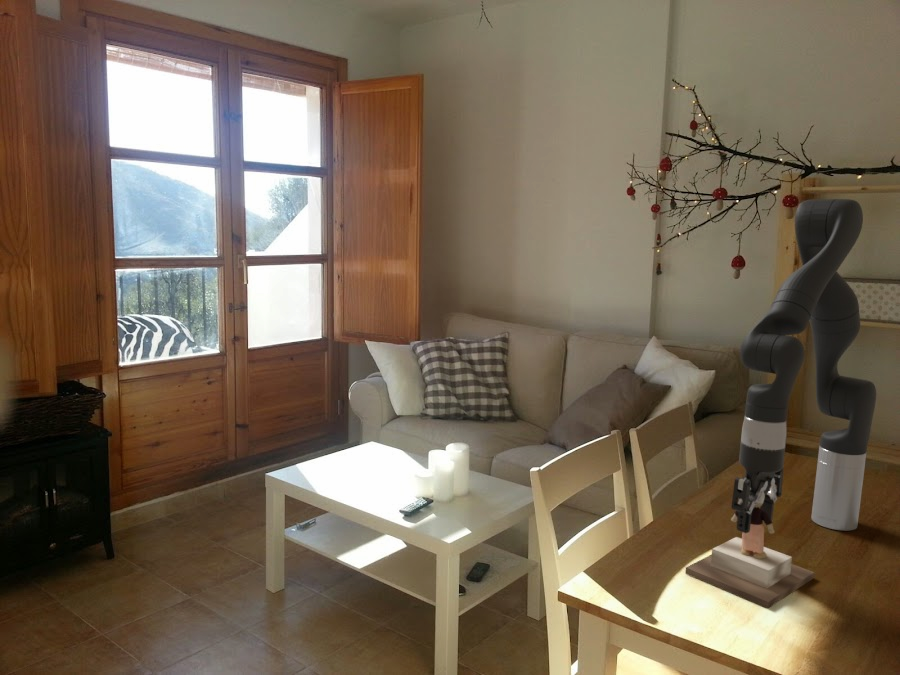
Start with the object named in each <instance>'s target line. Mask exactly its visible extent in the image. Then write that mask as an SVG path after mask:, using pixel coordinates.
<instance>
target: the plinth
mask: <svg viewBox="0 0 900 675" xmlns="http://www.w3.org/2000/svg"><path fill="white" fill-rule="evenodd" d="M741 550H742V537H738V536H735V537H733V538H731V539H730V540H727V541H725V542H723V543H722V544H719V545H717V546H715V547H713V548H712V549H711V554H710V555H708V556H706V557H704V558H702V559H700V560H698V561H696V562H693V563H691V564H690V565H687V566H686V567H685V572H684V573H685V575H688V576H691V577H694V578H695V579H698V580H700V581H703V582H705V583H707V584H710V585H712V586H714V587H716V588H719V589H721V590H723V591H726V592H729V593H731V594H733V595H735V596H738V597H740V598H742V599H744V600H747V601H750V602H751V603H754V604H756V605H758V606H762V607H763V608H766V609H769V608H771V607H772V606H774V605H775V604H776V603H779V602H780V601H781V600H783V599H785V598H786V597H788V596H789V595H791V594H792V593H793V592H795V591H797V590H798V589H799V588H801V587H802V586H804V585H806V584H808V583H809V582H810V581H812V580H813V579H815V572H814V571H812V570H809V569H807V568H804V567H801V566H798V565H796V564H794V563H792V560H793V557H792V556H791V555H788V554H785V553H783V552H779V551H777V550H773V549H771V548H769V547H766V546H764V550H763V551H764V552H765V553H766V555H767V557H765V558H762V559H757V558H755V557H753V555H754V554H755V553H756V552H755V551H753V553H752V554H751V555H743V554H741Z"/></svg>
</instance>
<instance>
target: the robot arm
mask: <svg viewBox="0 0 900 675" xmlns="http://www.w3.org/2000/svg"><path fill="white" fill-rule="evenodd" d="M863 222H864V213H863V208H862V206H861V205H860V203H859V201H856V200H854V199H849V198H818V199H816V198H815V199H807V200H804V201H802V202H800V203H799V204H798V206H797V208H796V211H795V214H794V232H795V239H796V242H797V243H796V244H797V248H798V253H799V256H800V261H801V264H802V265H801V266H800V267H799V268H798V269H796V270H795V271H794V272H792V273H791V274H790V275H789V276H787V278H785V280H784V281H783V282H782V284H781V285H780V287H779V288H778V290H777V292H776V295H775V297H774V300H773V301H772V304H771V305H770V308H769V309H768V310H767V312H766V313H765V314H764V315H763V316H762V318H760V319H759V321H758V322H757V323H756V324H755V325H754V326H753V328H751V330H750V331H749V332H748V333H747V334H746V336H745V337H744V339H743V341H742V343H741V346H740V349H739V350H740V351H739V358H740V361H741V364H742V365H743V366H744V367H745V368H746V369H749V370H751V371H756V372H757V371H758V372H764V373H768V374H773V375H774V374H775V378H774V380H773V381H772V383H756V384H752V385H751V386H749V388H748V389H747V392H746V400H745V401H746V402H745V410H744V411H745V412H744V418H743V423H742V428H741V435H740V436H741V437H740V445H739V446H740V448H739V456H738V457H739V458H738V462H739V465H741V467H743V468H744V469H745V472H744V476H743V478H741V477H738V476H737V477H735V479H734V482H733V483H734V484H733V491H732V501H731V507H730V508H731V509H732V510H734V511H736V510H737V511H738V519H737V522H736V530H737V531H738V532H741V533H742V532H744V533H748V532H750V525H751V515H752V514H751V512H752V510H753V508H754V505H755V504H758V503H759V501H760V498H761V496H762V493H763V492H764V494H765V498H764V502H763V504H762V506H761V507H759V508H760V509H762V510H764V511H765V512H766V513H767V514H768V515H769V517H770V519H771V521H772V522H773V519H774V518H773V517H774V506H775V503H776V502H777V499H778V498H781V497H782V494H783V482H784V480H783V479H784V462H785V454H786V442H787V433H788V432H787V419H788V408H789V401H790V397H791V394H792V391H793V388H794V385H795V382H796V380H797V377H798V375H799V373H800V371H801V369H802V367H803V364H804V361H805V358H806V353H805V352H806V351H805V350H806V349H805V347H804V344H803V342H802V341H801V340H800V339H799V338H798V337H796V336H795V335H798V334H802V332H804V331H805V330H806V329H807V327H808V325H809V324H810V330H811V335H812V336H811V337H812V343H813V350H814V363H815V398H816V404H817V407H818V410H819V411H820V413H822V414H824V415H826V416H829V417H833V418H838V419H842V420H847V421H849V424H848V427H846V428H844V429H837V430H828V431H824V432H823V433H822V434H821V435H820V439H819V448H818V455H817V464H816V474H815V480H814V481H815V483H814V492H813V501H812V508H811V516H810V518H811V519H810V520H812V522H814V523H815V524H816V525H819V526H822V527H824V528H827V529H830V530H831V529H832V530H836V531H846V532H847V531H854V530H856V529H857V528H858V523H859V517H860V516H859V515H860V508H861V501H862V491H863V484H864V483H863V482H864V474H865V466H866V458H867V451H868V445H869V440H870V436H871V428H872V423H873V417H874V412H875V408H876V402H877V401H876V400H877V389H876V386H875V384H874V382H872V381H871V380H868V379H867V380H866V379H862V378H856V377H850V376H844V375H840V373H839V371H838V363H839V361H840V360H841V358H842V356H844V354H845V352H846V351H847V350H848V349H849V347H850V346H851V345H852V343H853V342H854V341H855V340H856V338H857V337H858V335H859V332H860V330H861V316H860V306H859V300H858V297H857V295H856V293H855V291H854V290H853V289H852V286H850V285H849V283H848V282H847V281H846V280H845V279H844V278H843V276H842V275H841V274H840V273H839V272H838V270H839V268H840V267H841V265H842V264H843V262H844V261H845V260H846V258H847V256H848V255H849V254H850V253H851V252H850V251H851V250H852V249H853V247H854V246H855V244H856V243H857V241H858V239H859V237H860V234H861V231H862V229H863V228H862V227H863ZM794 336H795V337H794ZM749 495H752V496H754V497H752V496H749ZM748 501H749V502H750V503H749V502H748Z"/></svg>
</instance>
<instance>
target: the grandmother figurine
mask: <svg viewBox="0 0 900 675" xmlns="http://www.w3.org/2000/svg"><path fill="white" fill-rule="evenodd" d="M749 496H752V495H749ZM752 497H754V496H752ZM764 498H765V494H764V492H763V493H762V496H761V498H760V501H759V503H758V504H755V505H754V508H753V510H752V512H751V514H752V515H751V525H750V532H748V533H744V532H741V534H742V535H741V539H742V550H741V554H743V555H751V554H752V553H753V551H755V552H756V553H755V554H754V555H753V557H755V558H757V559H762V558H765V557H767V555H766V553H765V552H764V551H763V550H764V547H765V546H764V545H765V541H764V540H765V528H764V527H765V526H764V524H765V525H766V528H767V529H768V530H767V532H768V533H769V534H770V535H773V534H775V529H774V525H773V520H772V521H771V519H770V517H769V515H768V514H767V513H766V512H765V511H764V510H762V509H760V507H761V506H762V504H763V502H764ZM749 503H750V502H749V501H748V504H749ZM737 519H738V511H737V510H734V514H733V516H731V518H730V520H731V522H733V523H737ZM763 522H764V523H763Z"/></svg>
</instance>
